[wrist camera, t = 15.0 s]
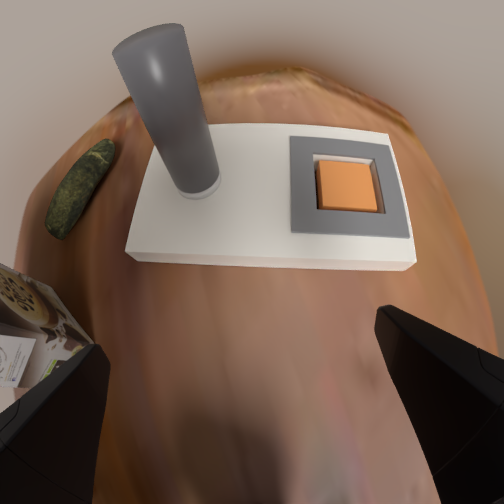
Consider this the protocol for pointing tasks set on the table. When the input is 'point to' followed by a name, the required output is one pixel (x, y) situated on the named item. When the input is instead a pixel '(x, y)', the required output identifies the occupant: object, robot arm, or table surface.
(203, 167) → the grey cylinder
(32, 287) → the coffee box
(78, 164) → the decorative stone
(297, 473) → the table surface
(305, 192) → the panel
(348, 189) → the button
